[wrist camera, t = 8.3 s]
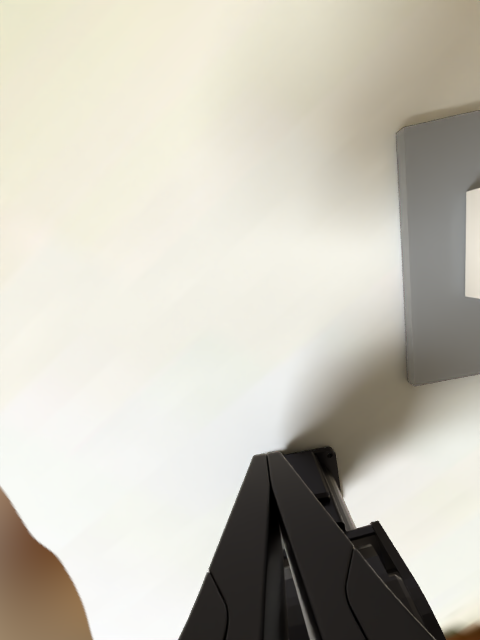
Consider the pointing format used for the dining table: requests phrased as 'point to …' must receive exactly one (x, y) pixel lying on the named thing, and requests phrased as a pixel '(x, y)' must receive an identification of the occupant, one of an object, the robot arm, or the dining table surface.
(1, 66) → the dining table surface
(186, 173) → the dining table surface
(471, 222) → the tile
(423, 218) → the slate board
